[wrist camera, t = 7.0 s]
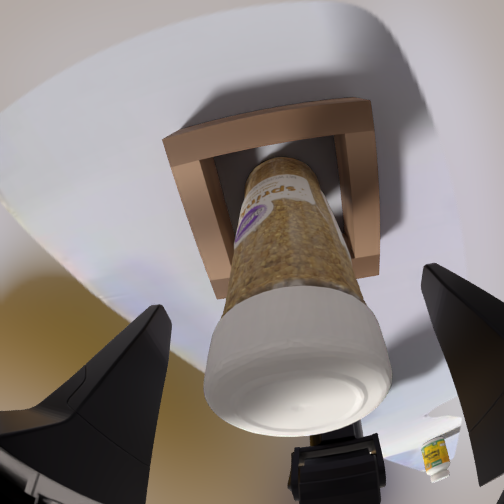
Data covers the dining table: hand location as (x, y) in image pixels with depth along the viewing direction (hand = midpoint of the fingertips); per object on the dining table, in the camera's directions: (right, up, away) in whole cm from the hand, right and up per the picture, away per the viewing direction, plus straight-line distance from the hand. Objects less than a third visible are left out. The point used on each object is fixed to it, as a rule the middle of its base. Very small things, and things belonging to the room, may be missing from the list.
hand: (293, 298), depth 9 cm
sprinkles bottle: (0, +5, +8) cm, 10 cm away
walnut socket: (0, +5, +8) cm, 10 cm away
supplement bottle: (+36, -38, +33) cm, 62 cm away
